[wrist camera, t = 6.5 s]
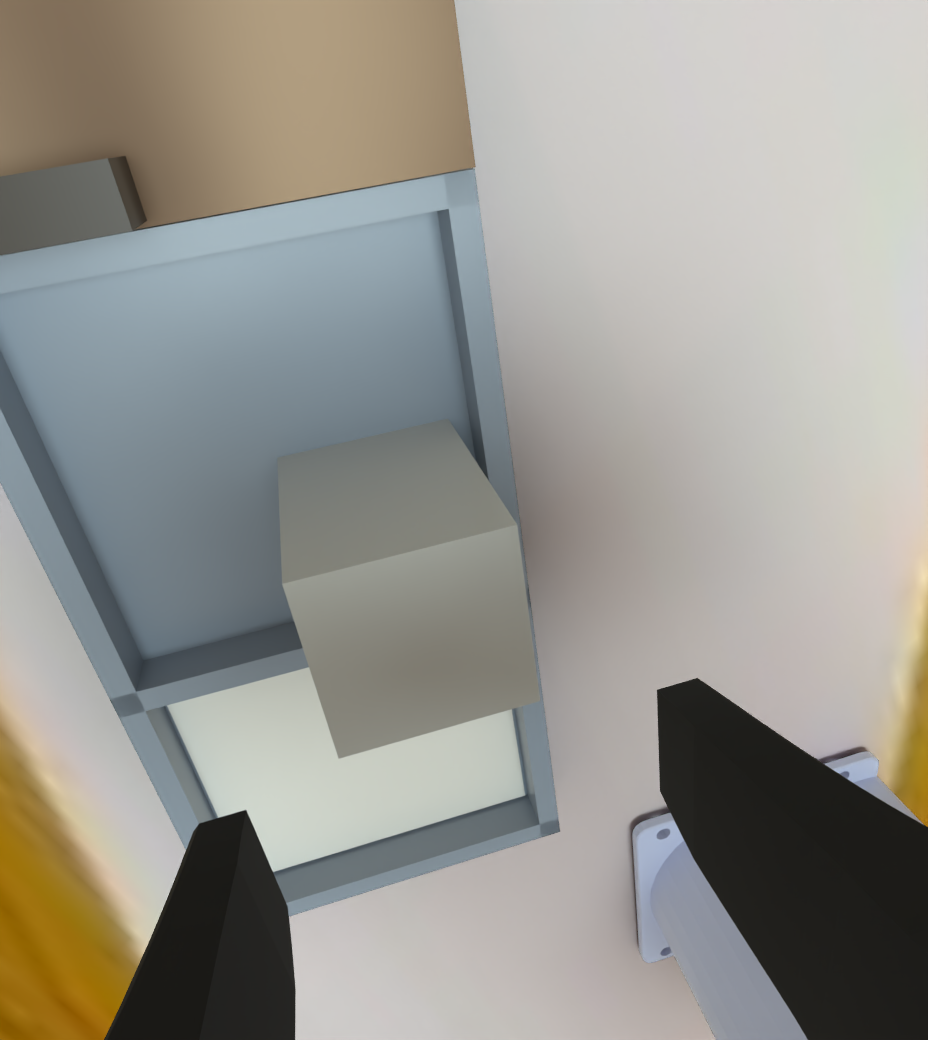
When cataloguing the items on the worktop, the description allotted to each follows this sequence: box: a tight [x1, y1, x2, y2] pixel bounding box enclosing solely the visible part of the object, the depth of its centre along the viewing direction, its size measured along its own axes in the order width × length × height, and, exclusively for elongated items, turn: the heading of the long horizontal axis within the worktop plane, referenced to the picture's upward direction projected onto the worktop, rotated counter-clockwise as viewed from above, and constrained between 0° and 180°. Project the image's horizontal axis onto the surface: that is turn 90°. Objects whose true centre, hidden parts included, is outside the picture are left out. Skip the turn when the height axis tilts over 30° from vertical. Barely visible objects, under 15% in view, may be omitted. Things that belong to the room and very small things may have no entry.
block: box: [277, 419, 540, 759], centre depth 16 cm, size 4×4×6 cm
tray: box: [0, 168, 560, 916], centre depth 18 cm, size 10×19×2 cm, turn 9°
